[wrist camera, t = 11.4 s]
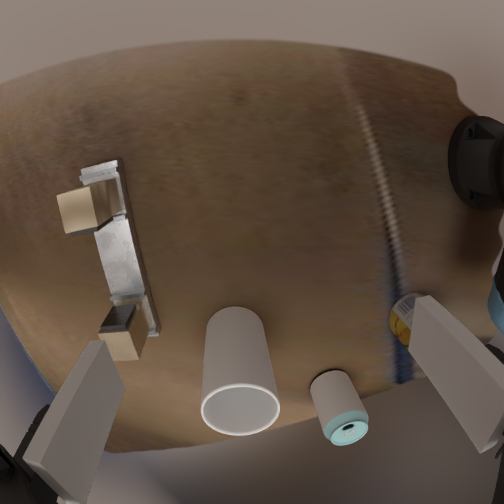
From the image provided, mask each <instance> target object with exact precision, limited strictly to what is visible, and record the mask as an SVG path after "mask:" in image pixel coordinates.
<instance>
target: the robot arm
mask: <svg viewBox="0 0 504 504" xmlns="http://www.w3.org/2000/svg"><path fill="white" fill-rule="evenodd" d="M449 172H450V177H451V181H452V184H453V187H454V189H455V191H456V193H457V194H458V196H459V197H460V199H461V200H462V201H463V202H464V203H465V204H467V205H468V206H471V207H473V208H476V209H479V210H484V211H489V210H498V209H504V124H503V123H501V122H499V121H497V120H495V119H492V118H490V117H486V116H472V117H469V118H466V119H465V120H463V121H462V122H461V123H460V124H459V125H458V127H457V128H456V130H455V132H454V134H453V137H452V139H451V143H450V148H449ZM488 310H489V313H490V317H491V319H492V320H493V322H494V323H495V325H496V326H497V327H498V329H499V330H500V331H501V332H502V333H503V334H504V249H503V252H502V256H501V259H500V262H499V265H498V269H497V272H496V274H495V275H494V277H493V285H492V289H491V292H490V295H489V298H488ZM408 351H409V352H410V353H411V355H412V356H413V357H414V359H415V360H416V362H417V363H418V364H419V366H420V367H421V368H422V370H423V371H424V372H425V374H426V375H427V377H428V378H429V379H430V381H431V382H432V384H433V385H434V386H435V388H436V389H437V391H438V392H439V393H440V395H441V396H442V398H443V399H444V401H445V402H446V403H447V405H448V406H449V408H450V409H451V411H452V412H453V413H454V415H455V417H456V418H457V420H458V421H459V422H460V424H461V425H462V427H463V428H464V430H465V431H466V433H467V434H468V436H469V437H470V439H471V441H472V442H473V444H474V445H475V446H476V448H477V450H478V451H479V453H482V452H484V451H486V450H488V449H489V448H491V447H493V446H494V445H496V443H497V442H498V440H499V439H500V437H501V435H502V434H503V436H504V353H503V352H502V351H501V350H500V349H498V348H496V347H494V346H492V345H490V344H487V345H483V344H482V343H481V342H480V341H479V340H478V339H477V338H476V337H475V336H474V335H473V334H472V333H471V332H470V331H469V330H468V329H467V328H466V327H464V326H463V325H462V324H461V323H460V322H459V321H458V320H457V319H456V318H455V317H454V316H453V315H452V314H450V313H449V312H448V311H447V310H446V309H445V308H444V307H443V306H442V305H440V304H439V303H438V302H437V301H436V300H435V299H434V298H433V297H432V296H430V295H428V296H424V297H419V298H415V307H414V315H413V322H412V329H411V336H410V342H409V348H408ZM125 389H126V388H125V386H124V384H123V382H122V379H121V377H120V375H119V373H118V371H117V368H116V366H115V364H114V361H113V359H112V357H111V354H110V352H109V349H108V347H107V344H106V342H105V340H99V341H90V342H89V343H88V345H87V346H86V348H85V349H84V351H83V353H82V354H81V356H80V357H79V359H78V361H77V362H76V364H75V365H74V367H73V369H72V370H71V372H70V373H69V375H68V377H67V378H66V380H65V382H64V383H63V385H62V387H61V388H60V390H59V392H58V394H57V395H56V397H55V399H54V401H53V402H52V404H51V405H46V406H45V407H44V408H42V409H41V410H40V411H39V412H38V414H37V415H36V417H35V419H34V421H33V424H31V426H30V427H29V429H28V432H27V433H26V435H25V436H24V438H23V440H22V442H21V444H20V446H19V448H18V449H17V451H16V453H15V455H14V457H12V456H11V455H10V454H9V453H8V452H7V450H6V449H5V448H4V447H3V446H2V445H1V444H0V504H58V503H57V502H56V501H57V498H58V496H59V497H61V498H62V499H63V500H64V501H65V502H66V503H67V504H86V502H87V498H88V495H89V492H90V489H91V486H92V482H93V479H94V476H95V473H96V470H97V467H98V464H99V461H100V458H101V455H102V452H103V449H104V446H105V443H106V441H107V438H108V435H109V432H110V429H111V426H112V424H113V421H114V418H115V415H116V413H117V410H118V407H119V405H120V402H121V399H122V397H123V394H124V392H125ZM501 452H502V456H501V462H500V468H499V473H498V479H497V483H496V488H495V492H494V497H493V501H492V504H504V443H503V445H502V446H501V448H500V449H499V451H498V452H497V454H496V456H495V458H496V459H497V458H498V457H499V455H500V454H501Z"/></svg>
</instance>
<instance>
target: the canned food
mask: <svg viewBox="0 0 504 504" xmlns="http://www.w3.org/2000/svg"><path fill="white" fill-rule="evenodd" d="M419 297H424V295H422V294H421V293H417V292H415V293H409V294H407V295H405V296H403V297H402V298H400V299H399V300H398V301H397V302H396V303H395V305H394V306H393V308H392V310H391V312H390V315H389V326H390V329H391V330H392V331H393V333H394V334H395V335H396V336H397V338H398V339H399V340H400V341H401V343H402V344H403V345H404V346H405V348H406V349H407V350H408V348H409V342H410V336H411V329H412V322H413V315H414V307H415V298H419ZM409 353H410V352H409ZM410 354H411V353H410ZM413 358H414V357H413Z"/></svg>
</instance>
